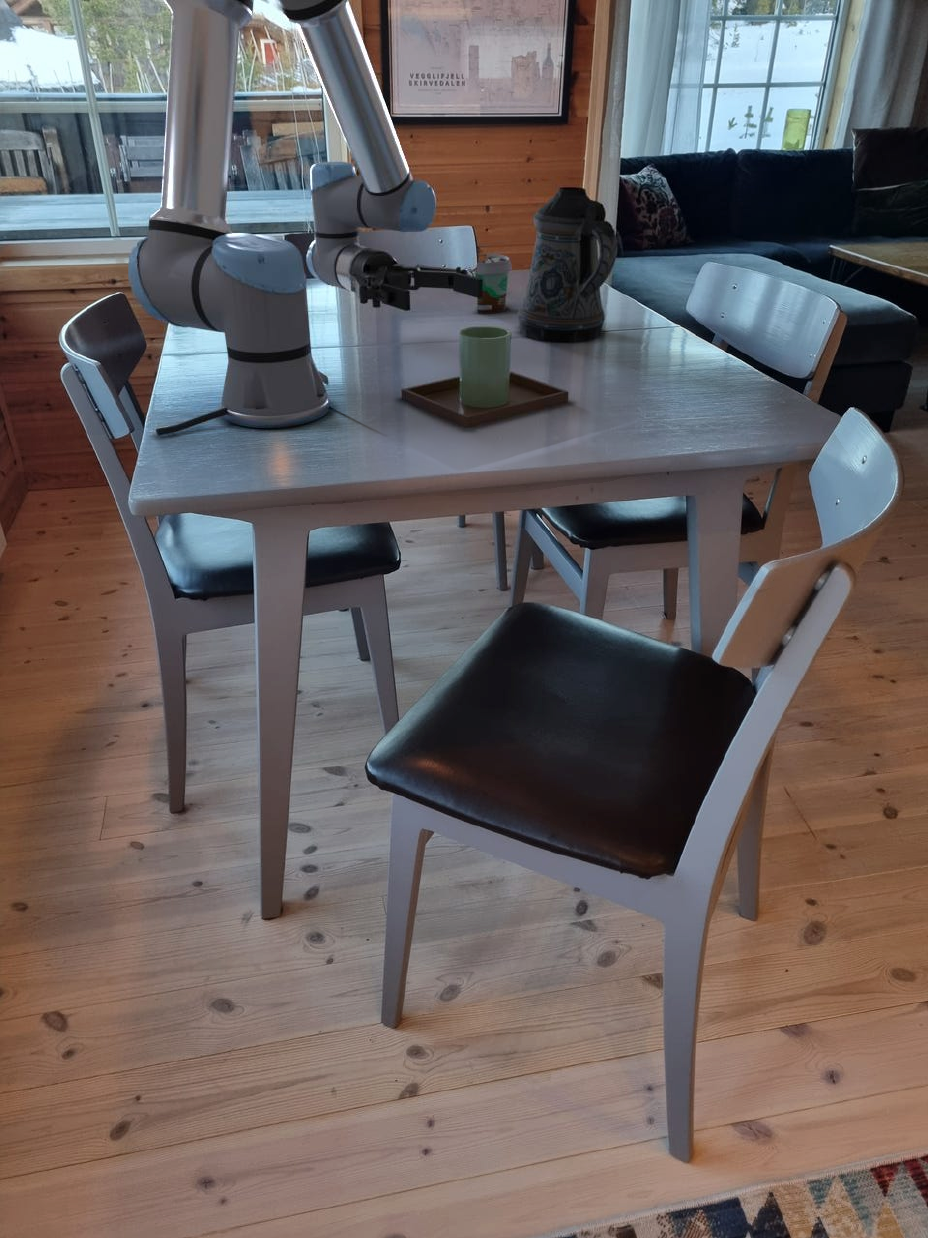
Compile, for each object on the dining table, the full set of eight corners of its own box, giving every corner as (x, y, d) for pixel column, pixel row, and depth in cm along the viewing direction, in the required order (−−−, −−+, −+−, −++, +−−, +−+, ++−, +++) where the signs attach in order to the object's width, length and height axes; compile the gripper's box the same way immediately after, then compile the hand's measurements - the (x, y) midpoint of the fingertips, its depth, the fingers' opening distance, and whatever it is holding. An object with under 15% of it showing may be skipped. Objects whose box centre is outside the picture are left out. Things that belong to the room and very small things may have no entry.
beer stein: (536, 318, 177) (542, 181, 164) (629, 328, 170) (643, 186, 157) (503, 336, 164) (507, 189, 151) (602, 349, 157) (615, 195, 144)
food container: (505, 316, 179) (507, 264, 173) (476, 314, 180) (476, 263, 174) (514, 303, 189) (516, 253, 184) (486, 302, 190) (487, 252, 185)
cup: (480, 411, 127) (481, 341, 122) (450, 398, 132) (449, 330, 127) (519, 401, 131) (521, 333, 125) (488, 389, 136) (489, 323, 130)
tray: (467, 429, 121) (467, 417, 120) (401, 400, 132) (401, 388, 131) (567, 403, 131) (568, 391, 130) (499, 378, 142) (499, 367, 141)
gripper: (430, 286, 153) (508, 308, 139) (305, 306, 140) (376, 333, 126) (429, 240, 149) (509, 258, 135) (300, 256, 136) (373, 278, 122)
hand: (445, 294), depth 131 cm, fingers open, 13 cm apart
